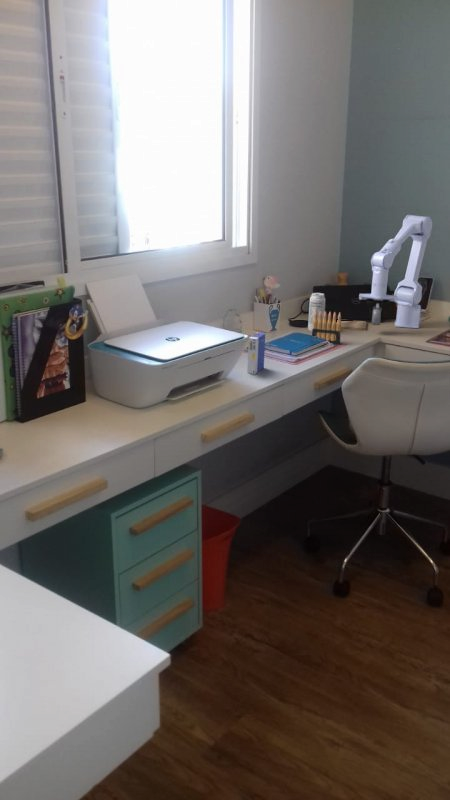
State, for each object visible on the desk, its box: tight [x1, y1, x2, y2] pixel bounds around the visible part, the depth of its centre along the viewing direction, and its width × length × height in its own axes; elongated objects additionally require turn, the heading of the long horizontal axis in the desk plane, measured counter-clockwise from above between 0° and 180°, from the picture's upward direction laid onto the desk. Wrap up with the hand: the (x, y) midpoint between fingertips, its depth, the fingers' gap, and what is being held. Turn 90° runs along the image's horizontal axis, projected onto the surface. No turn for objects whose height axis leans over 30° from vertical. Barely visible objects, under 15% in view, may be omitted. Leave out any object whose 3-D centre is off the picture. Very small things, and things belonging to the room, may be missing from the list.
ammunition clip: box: [311, 310, 342, 345], centre depth 272 cm, size 11×2×12 cm, turn 73°
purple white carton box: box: [246, 331, 266, 375], centre depth 237 cm, size 8×3×12 cm, turn 155°
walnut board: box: [336, 320, 367, 331], centre depth 299 cm, size 13×12×1 cm
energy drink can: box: [307, 292, 326, 334], centre depth 286 cm, size 6×6×15 cm
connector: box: [371, 303, 382, 326], centre depth 285 cm, size 3×6×8 cm, turn 169°
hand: (376, 318), depth 286 cm, fingers closed on connector, 3 cm apart
